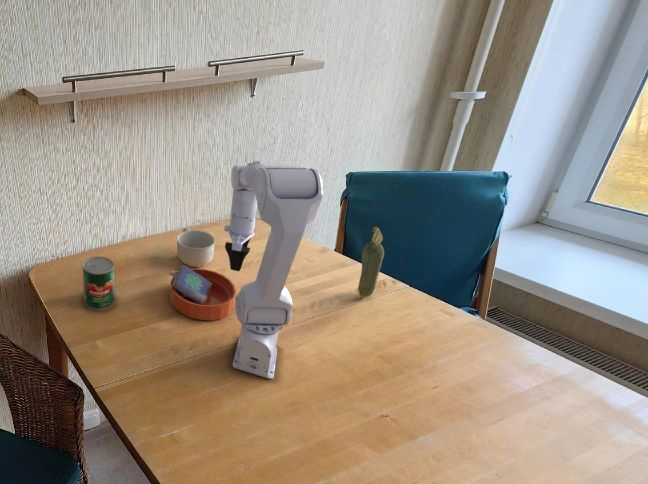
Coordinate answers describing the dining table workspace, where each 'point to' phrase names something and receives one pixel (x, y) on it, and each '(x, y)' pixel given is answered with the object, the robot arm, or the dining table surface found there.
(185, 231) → the teacup
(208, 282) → the flask
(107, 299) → the canned tomato
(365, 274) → the vegetable
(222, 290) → the terracotta plant saucer
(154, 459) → the dining table surface
